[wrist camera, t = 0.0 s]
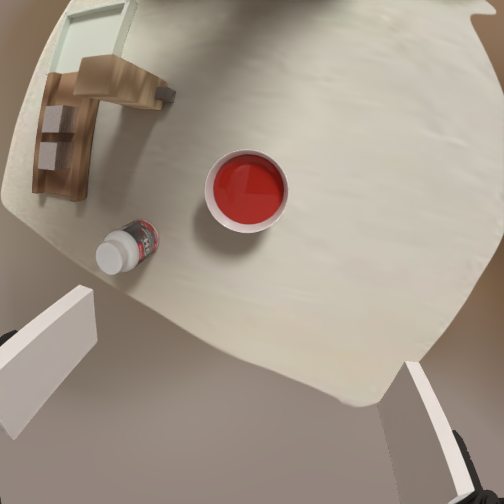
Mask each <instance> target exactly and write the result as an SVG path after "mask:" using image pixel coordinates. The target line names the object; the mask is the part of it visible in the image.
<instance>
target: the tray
mask: <svg viewBox="0 0 504 504" xmlns="http://www.w3.org/2000/svg"><path fill="white" fill-rule="evenodd" d="M137 5H138V3H137V2H136V1H134V0H117V1H111V2H106V3H102V4H97V5H93V6H89V7H85V8H81V9H77V10H74V11H70V12H67V13H65V16H64V18H63V21H62V23H61V26H60V29H59V32H58V35H57V37H56V40H55V44H54V47H53V50H52V53H51V57H50V60H49V64H48V67H47V71H46V75H48V73H51V72H56V73H61V74H64V73H71V72H78V71H79V67H80V63H81V60H82V58H83V57H91V56H99V55H108V54H114V55H116V56H118V57H120V56H121V53H122V49H123V46H124V43H125V39H126V36H127V33H128V30H129V27H130V24H131V21H132V18H133V16H134V13H135V10H136V8H137Z"/></svg>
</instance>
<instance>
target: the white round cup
mask: <svg viewBox="0 0 504 504" xmlns="http://www.w3.org/2000/svg"><path fill="white" fill-rule="evenodd" d="M204 192H205V200H206V203H207V206H208V208H209V210H210V212H211V214H212V215H213V217H214V218H215V219H216V220H217V221H218V222H219V223H220V224H222V225H223V226H225V227H226V228H228V229H230V230H233V231H236V232H240V233H254V232H259V231H262V230H264V229H267V228H268V227H270V226H272V225H273V224H274V223H275V222H276V221H277V220H278V219H279V218H280V217H281V216H282V214H283V213H284V211H285V209H286V206H287V203H288V199H289V184H288V180H287V177H286V174H285V172H284V170H283V169H282V167H281V166H280V165H279V164H278V162H277V161H276V160H274V159H273V158H272V157H270V156H269V155H267V154H265V153H263V152H260V151H257V150H252V149H241V150H236V151H232V152H230V153H228V154H226V155H224V156H222V157H221V158H220V159H219V160H217V161H216V162H215V164H214V165H213V166H212V168H211V169H210V171H209V173H208V175H207V178H206V181H205V189H204Z"/></svg>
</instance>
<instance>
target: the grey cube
mask: <svg viewBox="0 0 504 504" xmlns="http://www.w3.org/2000/svg"><path fill="white" fill-rule="evenodd" d="M79 108H80V107H74V106H66V105H57V106H46V108H45V114H44V120H43V126H42V132H60V133H75V131H76V125H77V119H78V113H79Z"/></svg>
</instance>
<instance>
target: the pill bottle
mask: <svg viewBox="0 0 504 504" xmlns="http://www.w3.org/2000/svg"><path fill="white" fill-rule="evenodd" d="M158 244H159V235H158V232H157V230H156V228H155V227H154V225H153V224H151V223H150V222H148V221H146V220H136V221H133V222H131V223H129V224H127V225H125V226H123V227H121V228H119V229H117V230H115V231H112V232H111V233H109V234H108V235H107V236H106V237H105V239H104V241H103V243H102V244H100V245H99V246H98V248H97V250H96V254H95V257H96V262H97V264H98V266H99V268H100V269H101V270H102V271H103V272H104V273H106V274H108V275H115V274H117V273H119V272H127V271H130V270H132V269H133V268H135V267H136V266H137V265H138V264H140V263H141V262H142V261H143V260H145V259H146V258H147V257H149V256H150V255H151V254H152V253H153V252H154V251H155V250H156V249H157V247H158Z"/></svg>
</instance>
